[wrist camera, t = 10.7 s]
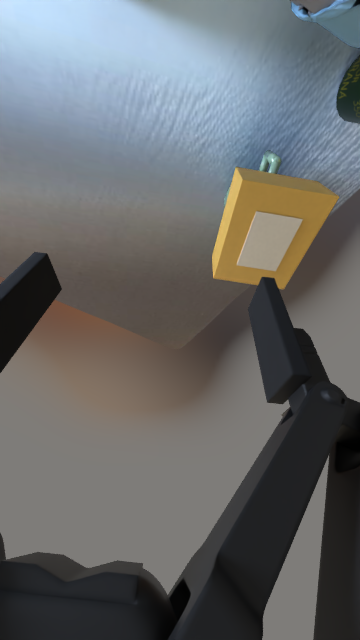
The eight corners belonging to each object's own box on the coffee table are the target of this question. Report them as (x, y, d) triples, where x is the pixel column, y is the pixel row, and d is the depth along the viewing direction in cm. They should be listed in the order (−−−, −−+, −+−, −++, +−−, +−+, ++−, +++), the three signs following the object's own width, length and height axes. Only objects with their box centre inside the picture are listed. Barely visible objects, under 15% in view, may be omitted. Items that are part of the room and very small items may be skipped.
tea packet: (235, 166, 21) (242, 179, 18) (317, 181, 22) (340, 196, 18) (211, 256, 29) (213, 278, 25) (274, 266, 29) (284, 289, 25)
